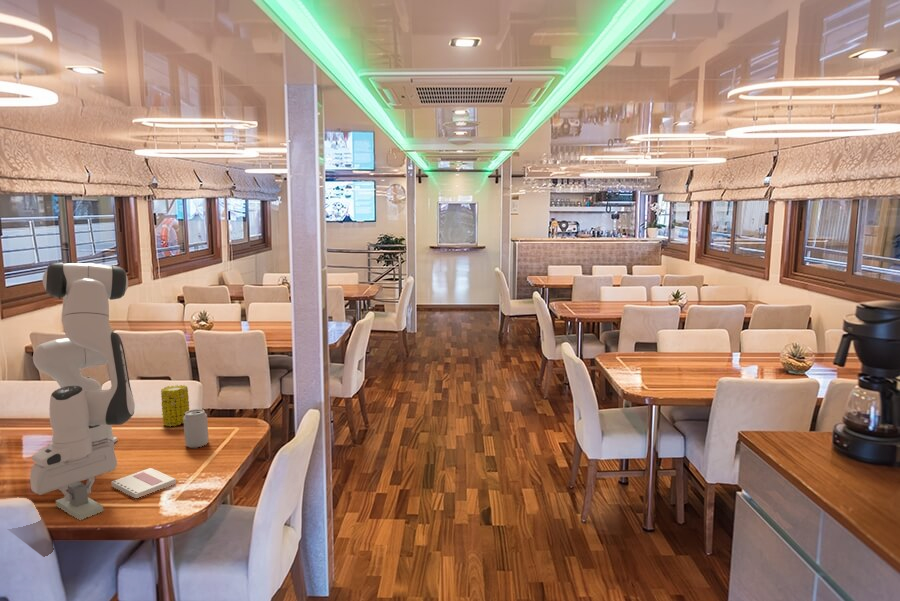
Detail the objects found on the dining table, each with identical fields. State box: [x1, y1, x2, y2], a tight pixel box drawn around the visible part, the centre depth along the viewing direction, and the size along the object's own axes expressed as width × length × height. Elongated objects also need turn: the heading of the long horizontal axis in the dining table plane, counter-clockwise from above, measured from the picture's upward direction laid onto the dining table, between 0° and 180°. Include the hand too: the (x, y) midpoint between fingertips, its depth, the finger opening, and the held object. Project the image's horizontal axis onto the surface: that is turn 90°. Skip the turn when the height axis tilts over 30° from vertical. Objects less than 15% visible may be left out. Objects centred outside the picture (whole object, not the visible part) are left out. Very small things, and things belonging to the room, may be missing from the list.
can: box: [183, 408, 209, 449], centre depth 207 cm, size 8×8×12 cm
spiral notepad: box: [111, 467, 177, 499], centre depth 177 cm, size 14×12×2 cm
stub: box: [55, 481, 104, 521], centre depth 163 cm, size 14×6×7 cm, turn 54°
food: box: [160, 384, 190, 428], centre depth 230 cm, size 15×12×10 cm
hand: (78, 496), depth 163 cm, fingers closed on stub, 3 cm apart
